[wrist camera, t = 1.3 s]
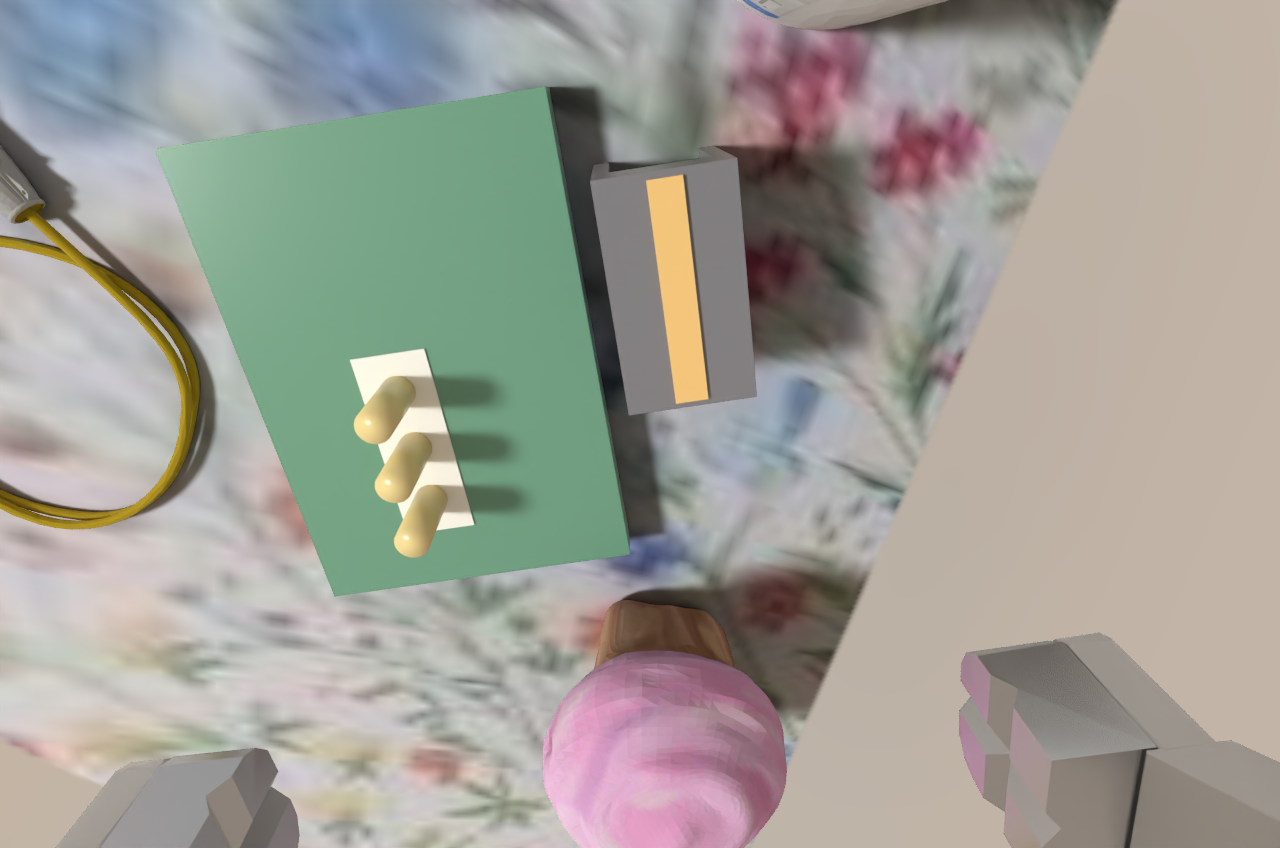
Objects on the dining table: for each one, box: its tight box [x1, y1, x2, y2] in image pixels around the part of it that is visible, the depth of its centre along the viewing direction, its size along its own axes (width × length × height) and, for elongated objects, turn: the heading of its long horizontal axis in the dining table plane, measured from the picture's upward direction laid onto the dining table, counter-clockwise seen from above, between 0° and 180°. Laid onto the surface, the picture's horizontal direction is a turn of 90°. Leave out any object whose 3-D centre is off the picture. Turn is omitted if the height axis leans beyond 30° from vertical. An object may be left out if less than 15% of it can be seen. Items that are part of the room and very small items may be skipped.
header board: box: [155, 87, 630, 596], centre depth 24 cm, size 17×12×4 cm
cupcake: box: [543, 600, 787, 848], centre depth 28 cm, size 9×9×10 cm
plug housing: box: [590, 146, 757, 415], centre depth 23 cm, size 7×4×5 cm, turn 8°
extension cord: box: [0, 145, 200, 529], centre depth 25 cm, size 12×16×2 cm
